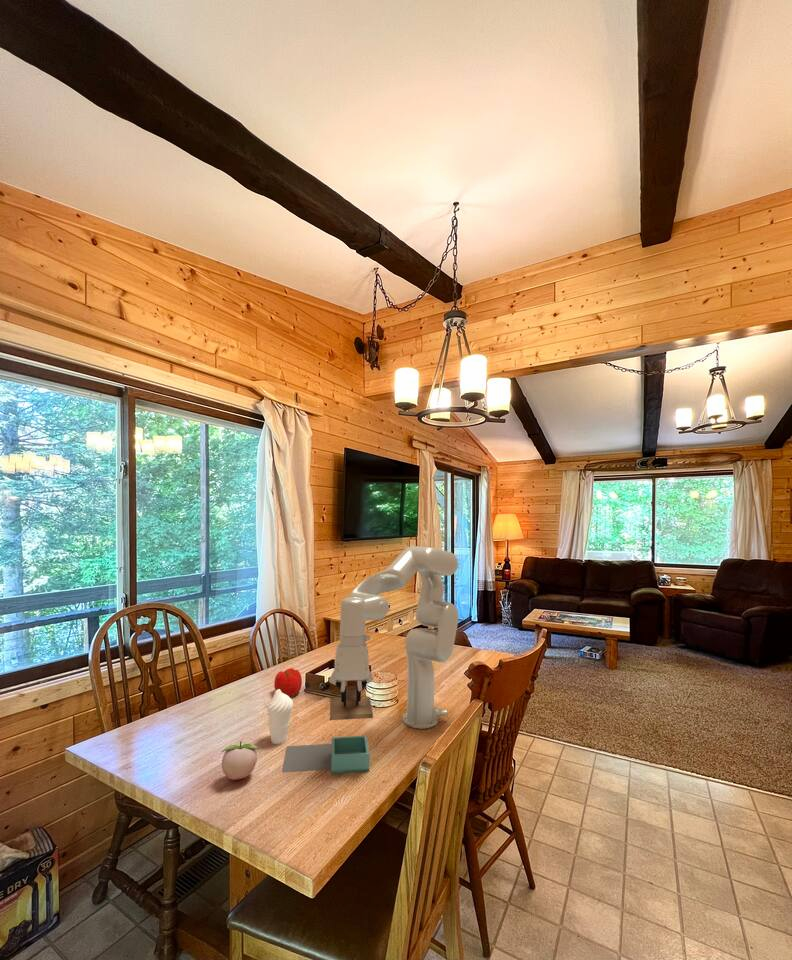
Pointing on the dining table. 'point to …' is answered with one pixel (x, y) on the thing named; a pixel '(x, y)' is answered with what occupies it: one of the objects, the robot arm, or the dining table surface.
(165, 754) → the dining table surface
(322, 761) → the mat
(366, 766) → the open box
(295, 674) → the tomato
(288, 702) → the soft serve ice cream cone
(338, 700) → the lid
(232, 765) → the decorative fruit
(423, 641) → the robot arm
